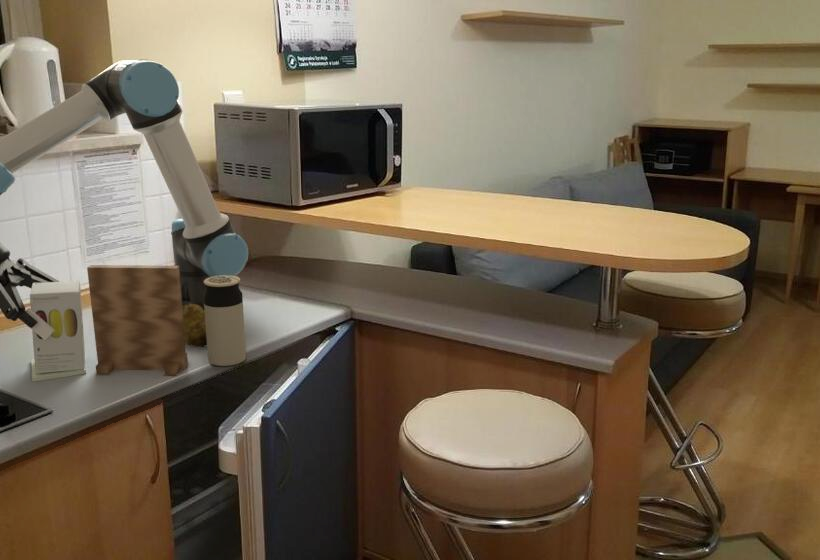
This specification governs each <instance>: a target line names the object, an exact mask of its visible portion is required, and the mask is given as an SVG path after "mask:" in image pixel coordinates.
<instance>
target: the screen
mask: <svg viewBox="0 0 820 560" xmlns="http://www.w3.org/2000/svg"><path fill="white" fill-rule="evenodd" d="M86 270H87V279H88V286H89V287H88V289H89V294H90V295H89V296H90V297H89V298H90V303H91V304H90V305H91V307H90V308H91V313H92V314H91V315H92V324H93V331H94V341H95V347H96V348H95V349H96V359H97V364H96V365H95V373H96V376H109V375H110V374H112V372H113V371H118V370H119V371H122V370H123V371H163V376H164V377H177V376H178V374H179V373H180V372H181V371H186V369H187V368H188V353H187V350H186V348H187V347H186V343H185V334H184V322H183V309H182V297H181V285H180V272H179V266H175V265H148V264H146V265H139V264H138V265H135V264H134V265H133V264H132V265H131V264H130V265H129V264H128V265H127V264H126V265H125V264H123V265H122V264H118V265H117V264H114V265H113V264H111V265H110V264H91V265H89V266H88V267H86Z"/></svg>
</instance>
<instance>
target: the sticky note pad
mask: <svg viewBox="0 0 820 560" xmlns="http://www.w3.org/2000/svg"><path fill="white" fill-rule="evenodd" d="M30 362H31V381H32V382H33V383H34V382H38V381H45V380H52V379H58V378H64V377H71V376H80V375H84V374H87V369H86V366H85V367H84V369H81V370H69V371H57V372H45V373H36V372H35V360H34V357H31V361H30Z"/></svg>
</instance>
